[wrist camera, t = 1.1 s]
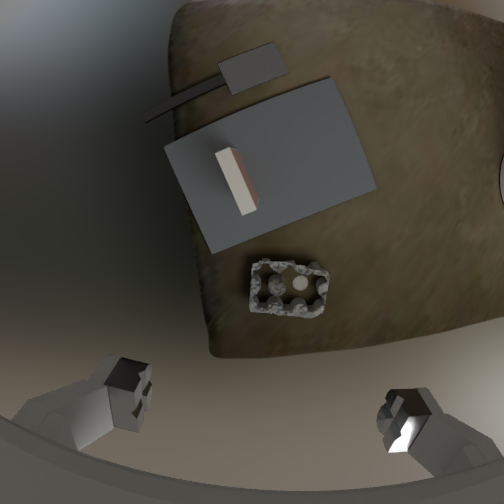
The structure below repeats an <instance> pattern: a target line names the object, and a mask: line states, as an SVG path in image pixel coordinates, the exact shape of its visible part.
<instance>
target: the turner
mask: <svg viewBox="0 0 504 504" xmlns="http://www.w3.org/2000/svg"><path fill="white" fill-rule="evenodd" d="M218 66H219V68H220V70H221V72H222V74H220V75H218V76H215V77H213V78H211V79H209V80H207V81H204V82H202V83H200V84H198V85H196V86H194V87H192V88H190V89H187V90H185V91H183V92H181V93H179V94H177V95H175V96H173V97H171V98H170V99H168V100H166V101H164V102H162V103H160V104H158V105H157V106H154V107H153V108H151V109H149V110H147V111H145V112H144V113H142V114H141V115H142V118H143V120H144V122H145V123H149V122H150V121H152V120H154V119H156V118H158V117H160V116H161V115H163V114H165V113H167V112H169V111H171V110H173V109H175V108H177V107H179V106H181V105H183V104H185V103H187V102H189V101H191V100H193V99H195V98H197V97H199V96H202V95H204V94H206V93H208V92H210V91H212V90H215V89H217V88H219V87H221V86H224V85H226V84H227V85H228V87H229V89H230V91H231V94H232V96H233V95H235V94H237V93H240V92H242V91H245V90H247V89H249V88H252V87H254V86H257V85H259V84H262V83H265V82H267V81H270V80H273V79H275V78H278V77H281V76H283V75H286V74H289V72H288V70H287V67H286V65H285V63H284V61H283V59H282V57H281V55H280V53H279V52H278V50H277V48H276V46H275V44H274V42H273V43H270V44H267V45H264V46H261V47H259V48H256V49H253V50H251V51H248V52H245V53H243V54H240V55H238V56H235V57H233V58H230V59H228V60H226V61H223V62H221V63H219V64H218Z"/></svg>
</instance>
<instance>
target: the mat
mask: <svg viewBox="0 0 504 504" xmlns="http://www.w3.org/2000/svg"><path fill="white" fill-rule="evenodd" d="M228 147H231V148H235V149H238V151H239V153H240V155H241V157H242V160H243V162H244V164H245V167H246V169H247V171H248V173H249V176H250V178H251V180H252V183H253V185H254V187H255V190H256V192H257V194H258V197H259V201H258V206H257V210H255V211H253V212H250V213H248V214H245V215H243V216H242V214H241V212H240V209H239V207H238V205H237V203H236V200H235V198H234V196H233V194H232V191H231V189H230V187H229V185H228V182H227V180H226V178H225V175H224V173H223V171H222V169H221V166H220V164H219V162H218V160H217V157H216V155H215V153H217V152H219V151H221V150H224V149H226V148H228ZM164 149H165V151H166V154H167V156H168V158H169V161H170V163H171V165H172V167H173V170H174V172H175V174H176V177H177V179H178V181H179V183H180V185H181V188H182V190H183V192H184V194H185V197H186V199H187V201H188V203H189V205H190V208H191V210H192V212H193V214H194V216H195V218H196V221H197V223H198V225H199V227H200V229H201V231H202V234H203V236H204V238H205V240H206V242H207V244H208V246H209V248H210V251H211V253H212V254H214V253H217V252H219V251H222V250H224V249H227V248H229V247H232V246H234V245H236V244H239V243H241V242H244V241H246V240H249V239H251V238H254V237H256V236H259V235H261V234H264V233H266V232H269V231H271V230H274V229H276V228H279V227H281V226H284V225H286V224H289V223H291V222H294V221H296V220H299V219H301V218H304V217H306V216H309V215H311V214H314V213H317V212H319V211H322V210H324V209H327V208H329V207H332V206H334V205H337V204H339V203H342V202H344V201H347V200H350V199H352V198H355V197H357V196H360V195H362V194H365V193H368V192H370V191H373V190H375V189H377V187H376V184H375V181H374V179H373V176H372V173H371V170H370V167H369V164H368V162H367V159H366V156H365V154H364V151H363V148H362V146H361V143H360V141H359V138H358V135H357V133H356V130H355V128H354V126H353V123H352V121H351V118H350V116H349V114H348V111H347V109H346V107H345V104H344V102H343V100H342V97H341V95H340V93H339V91H338V89H337V86H336V84H335V82H334V80H333V78H332V77H331V78H328V79H325V80H322V81H319V82H316V83H313V84H310V85H307V86H304V87H301V88H298V89H295V90H293V91H290V92H287V93H284V94H282V95H279V96H276V97H274V98H271V99H269V100H266V101H263V102H261V103H258V104H256V105H254V106H251V107H249V108H246V109H244V110H241V111H239V112H237V113H234V114H232V115H230V116H227V117H225V118H223V119H221V120H218V121H216V122H214V123H212V124H210V125H207V126H205V127H203V128H201V129H199V130H197V131H195V132H193V133H191V134H188V135H186V136H184V137H182V138H180V139H178V140H176V141H174V142H172V143H171V144H168V145H167V146H165V147H164Z"/></svg>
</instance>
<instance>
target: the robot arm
mask: <svg viewBox="0 0 504 504" xmlns="http://www.w3.org/2000/svg"><path fill="white" fill-rule="evenodd" d="M500 188H501V194H502V199H503V202H504V158H503V161H502V165H501V172H500ZM151 371H152V370H151V365H150V364H147V363H143V362H140V361H136V360H132V359H128V358H124V357H119V356H116V355H112V354H107V355H106V356H105V357H104V358H103V360H102V361H101V363H100V364H99V365H98V367H97V368H96V370H95V371H94V373H93V374H92V375H91V377H90V378H89V379H88V380H85V379H83V380H81V381H78V382H76V383H73V384H70V385H67V386H65V387H62V388H59V389H57V390H54V391H51V392H48V393H46V394H43V395H40V396H37V397H34V398H31V399H28V401H26V403H25V404H24V405H23V406H22V407H21V409H20V410H19V411H18V413H17V414H16V415H15V416H14V417H13V419H12V420H11V421H10V420H8V419H6V418H4V417H2V416H1V415H0V504H504V457H503V456H502V454H501V452H500V451H499V449H498V448H497V447H496V445H495V443H494V442H493V440H492V439H491V438H489V437H487V436H485V435H484V434H482V433H480V432H478V431H477V430H475V429H473V428H471V427H470V426H468V425H466V424H465V423H463V422H461V421H459V420H458V419H456V418H454V417H452V416H451V415H449V414H444V412H443V411H442V409H441V408H440V406H439V405H438V403H437V402H436V400H435V399H434V397H433V395H432V394H431V393H430V391H429V389H427V388H414V389H390V391H389V392H388V393H387V395H386V397H385V399H386V403H385V404H384V405H383V406H381V408H380V410H379V412H378V414H377V427H378V429H379V432H381V433H382V434H383V435H384V437H383V442H384V445H385V448H386V450H387V453H391V452H403V451H408V453H409V454H410V455H411V456H412V457H413V458H414V459H415V460H416V461H418V462H419V463H420V464H421V465H422V466H423V467H424V468H425V469H427V470H428V471H429V472H430V473H431V474H432V475H433V476H434V477H433V478H429V479H424V480H419V481H413V482H407V483H401V484H394V485H388V486H380V487H372V488H361V489H348V490H330V491H275V490H258V489H246V488H236V487H227V486H219V485H211V484H205V483H198V482H192V481H187V480H181V479H176V478H171V477H166V476H162V475H157V474H153V473H149V472H145V471H141V470H137V469H133V468H130V467H126V466H123V465H119V464H116V463H113V462H109V461H106V460H103V459H100V458H97V457H94V456H91V455H88V454H85V453H83V452H80V451H79V450H80V449H82V448H83V447H85V446H87V445H88V444H90V443H91V442H93V441H95V440H96V439H98V438H99V437H101V436H102V435H104V434H105V433H107V432H108V431H110V430H111V429H113V428H114V427H118V428H121V429H125V430H129V431H133V432H139V430H140V427H141V425H142V423H143V420H144V412H145V411H147V410H148V408H149V405H150V401H151V397H152V384H151V382H150V381H149V379H150V377H151V375H152V372H151Z"/></svg>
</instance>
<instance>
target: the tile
mask: <svg viewBox="0 0 504 504" xmlns="http://www.w3.org/2000/svg"><path fill="white" fill-rule="evenodd" d="M215 155H216V157H217V160H218V162H219V164H220V166H221V169H222V171H223V173H224V175H225V178H226V180H227V182H228V185H229V187H230V189H231V191H232V194H233V196H234V198H235V200H236V203H237V205H238V207H239V209H240V212H241V214H242V216H243V215H245V214H248V213H250V212H253V211H255V210H257V206H258V201H259V197H258V194H257V192H256V190H255V187H254V185H253V183H252V180H251V178H250V176H249V173H248V171H247V169H246V167H245V164H244V162H243V160H242V157H241V155H240V153H239V151H238V149H235V148H231V147H228V148H226V149H224V150H221V151H219V152H217V153H215Z"/></svg>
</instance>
